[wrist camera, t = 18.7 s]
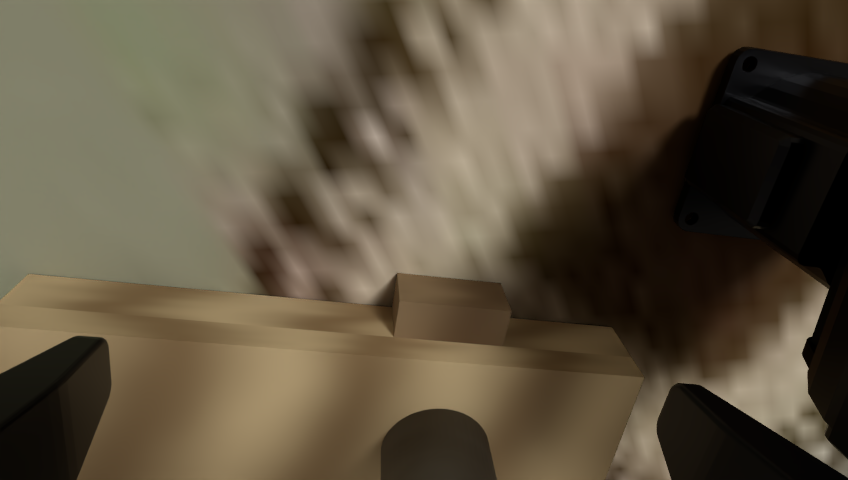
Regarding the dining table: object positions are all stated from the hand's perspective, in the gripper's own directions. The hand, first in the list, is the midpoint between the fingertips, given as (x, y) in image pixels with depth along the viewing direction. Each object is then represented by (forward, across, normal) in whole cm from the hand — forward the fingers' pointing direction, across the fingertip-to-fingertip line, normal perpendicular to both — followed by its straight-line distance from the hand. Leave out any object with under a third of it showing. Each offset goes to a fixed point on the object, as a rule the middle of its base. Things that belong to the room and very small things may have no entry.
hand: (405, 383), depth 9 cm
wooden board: (+12, +1, +14) cm, 18 cm away
